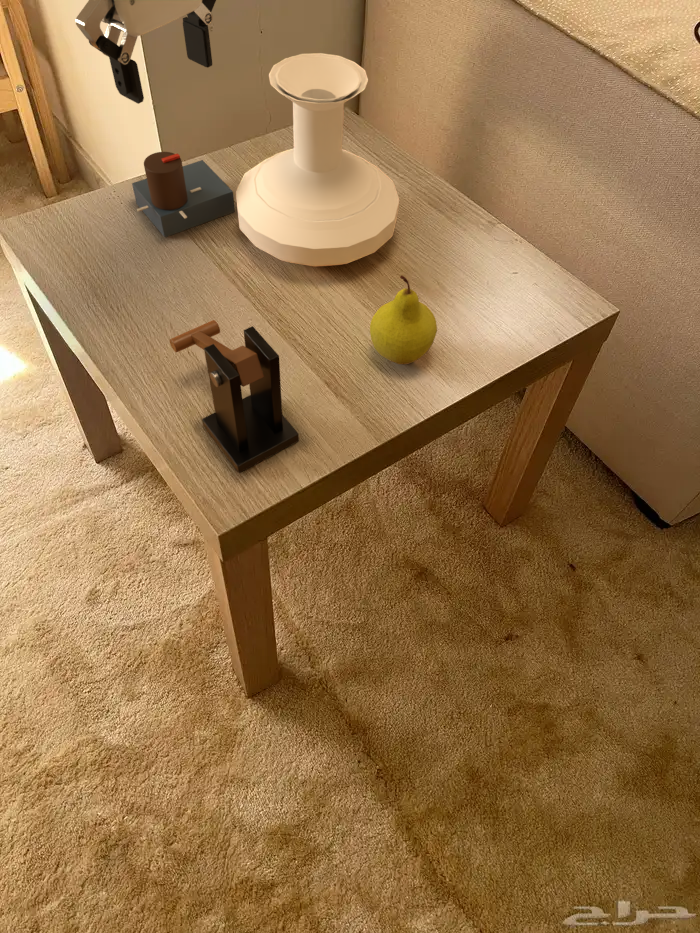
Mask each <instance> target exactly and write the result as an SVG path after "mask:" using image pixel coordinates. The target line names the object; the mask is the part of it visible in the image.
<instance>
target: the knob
mask: <svg viewBox="0 0 700 933" xmlns="http://www.w3.org/2000/svg"><path fill="white" fill-rule="evenodd" d="M183 166H184V165H183V160H182V158H181V155H180V154H179V153H174V152H171V151H158V152H157V151H156V152H153V153H151V154H149V155H148V156H147V157H145V159H144V160H143V168H144V172H145V177H146V178H147V182H148V187H149V192H150V196H151V201H152V203H153V205H154V206H155V207H157V208H159V209H163V210H174V209H178V208H180V207H182V206H183V205H185V204H186V202H187V199H188V197H187V191H186V185H185V178H184V172H183Z"/></svg>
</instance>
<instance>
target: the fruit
mask: <svg viewBox="0 0 700 933" xmlns="http://www.w3.org/2000/svg"><path fill="white" fill-rule="evenodd" d="M399 278H400V279H401V280H403V282H404V283H405V284H406V285H407V288H405V287H404V288H402V289H400V290H398V291H397V293H396V295H395V296H394V298H393V300H390V301H388V302H387V303H385V304H383V305H381V306H380V307H379V308H378V309H377V310H376V312H375V313H374V315H373V316H372V318H371V321H370V324H369V334H370V340H371V344H372V345H373V347H374V350H375V351H376V352H377V353H378V354H379V355H380V356H381V357H383V358H384V359H385V360H388V361H390V362H392V363H395V364H396V365H397V364H398V365H409V364H411V363H415V362H416V361H418V360H419V359H420V358H422V357H423V356H425V355H426V353H428V351H429V350H430V348H431V347H432V346H433V344H434V341H435V338H436V335H437V333H438V325H437V320H436V317H435V315H434V313H433V311H432V310H431V309H430V308H429V307H428V306H427V305H426V304H425V303H422V302H421V301H420V300H419V299H420V298H419V295H418V294H417V292H416V291H415V290H413V289H412V288H411V287H410V283H409V281H408V279H407V278H406V277H405V276H404V275H400V276H399Z"/></svg>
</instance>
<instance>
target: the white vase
mask: <svg viewBox="0 0 700 933" xmlns="http://www.w3.org/2000/svg"><path fill="white" fill-rule="evenodd" d="M268 79H269V85H270V86H271V87H273V89H275V90H276V91H277V92H278V93H279V94H280V95H282V96H283V97H285V98H286V99H287V100H289V101H291V102H292V126H293V130H292V131H293V132H292V133H293V148H290V149H289V148H288V149H286V150H284V151H280V152H277V153H275V154H273V155H272V156H270V157H267V158H266V159H265V158H264V160H262V161H261V162H259V163H258V164H256V165H255V166H253V167H252V168H250V169H249V170H247V171H246V172H245V173H244V174H243V176H242V178H241V180H240V182H239V184H238V186H237V188H236V191H235V199H236V208H237V209H236V210H237V217H238V218H237V219H238V227H239V230H240V231H241V232H242V234H244V235H245V236H246V237H247V239H248V240H249V242H251V243H252V245H253V246H254V247H256V248H257V249H259V250H260V251H263V252H264V253H267V254H269V255H270V256H272V257H274V258H275V259H278V260H280V261H282V262H287V263H291V264H296V265H303V266H308V267H314V268H317V267H329V266H341V265H347V264H349V263H352V262H354V261H357V260H360V259H361V258H364V257H366V256H369V255H372V254H374V253H376V252H377V251H378V250H379V249H381V247H382V246H383V245H385V244H386V243H387V242H388V241H389V240H390V239H391V238H392V237H394V232H395V228H396V225H397V221H398V215H399V209H400V208H399V206H400V198H399V194H398V191H397V188H396V185H395V181H394V180H392V178H390V177H389V176H388V175H387V174H386V173H385V172H383V171H382V170H381V169H380V168H379V167H378V166H376V165H375V164H374V163H371V162H369V161H368V160H367V159H365V158H363V157H361V156H359V155H356V154H355V153H353V152H351V151H348V150H346V149H343V136H344V135H343V134H344V130H343V129H344V110H345V103H346V102H348V101H350V100H352V99H353V98H355V97H356V96H358V95H359V94H361V93H362V92H363V91H364V90H366V87H367V84H368V82H369V78H368V75H367V71H366V69H365V68H363V67H362V66H360V65H359V64H358V63H356V62H355V61H353V60H351V59H348V58H347V57H344V56H342V55H336V54H330V53H323V52H317V53H313V52H311V53H299V54H296V55H292V56H289V57H285V58H284V59H282V60H281V61H279V62H276V63H275V64H273V66H272V67H271V69H270V71H269V73H268Z"/></svg>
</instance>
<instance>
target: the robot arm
mask: <svg viewBox="0 0 700 933" xmlns="http://www.w3.org/2000/svg"><path fill="white" fill-rule="evenodd" d="M216 2H217V0H88V1H87V2H86V3H85V5H84V7H83V8H82V9H81V10H80V11H79V13H78V14H77V16H76V18H75V25H76V27H77V28H78V29H79V31H80V32H81V33H82V34H83V36H84V38H86V39H87V41H88V43H89V45H90V46H91V47H92V48H95V49H96V50H98V51H99V52H101V53H102V54H103V55H104V56H106V57H108V58H109V63H110V67H111V68H110V69H111V72H112V76H113V81H114V86H115V88H116V90H117V91H118V93H119V94H120V96H123V97H125V98H126V99H128V100H130V101H132V102H134V103H135V104H138V105H139V104H141V103H143V102H144V100H145V96H144V91H143V87H142V81H141V76H140V72H139V67H138V63H137V62H136V61H135V60H133V59H132V55H133V52H134V49H135V46H136V43H137V40H138V37H140V36H143V35H145V34H148V33H150V32H152V31H155V30H157V29H160V28H161V27H164V26H166V25H168V24H170V23H173V22H174V21H177V20H178V19H181V18H182V29H183V36H184V42H185V43H184V44H185V50H186V57H187V58H188V60H190V61H192V62H194V63H196V64H198V65H200V66H202V67H204V68H207V69H208V68H210V67H212V66H213V56H212V49H211V38H210V30H209V26H210V25H211V24H212V23H213V18H214V16H213V13H212V11H213V9H214V7H215V5H216ZM102 22H103V23H105V24H107V26H106V30H105V33H104V32H103V30H102V28H101V23H102ZM121 32H123V34H122V37H121ZM120 37H121V40H120V43H119V39H120ZM118 43H119V45H118Z"/></svg>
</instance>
